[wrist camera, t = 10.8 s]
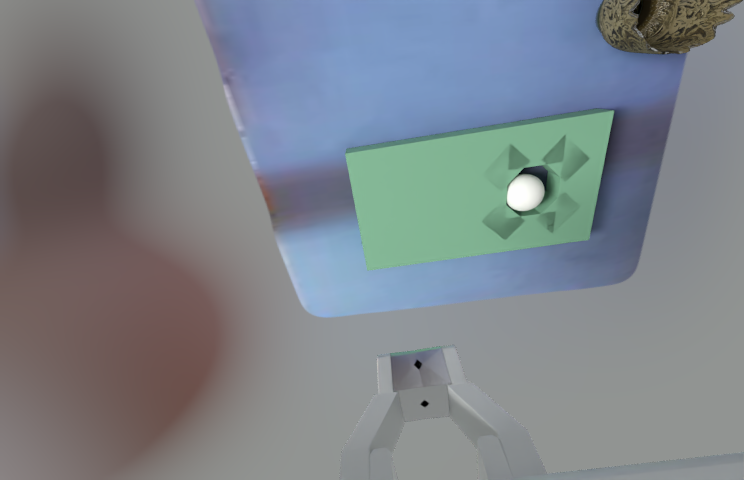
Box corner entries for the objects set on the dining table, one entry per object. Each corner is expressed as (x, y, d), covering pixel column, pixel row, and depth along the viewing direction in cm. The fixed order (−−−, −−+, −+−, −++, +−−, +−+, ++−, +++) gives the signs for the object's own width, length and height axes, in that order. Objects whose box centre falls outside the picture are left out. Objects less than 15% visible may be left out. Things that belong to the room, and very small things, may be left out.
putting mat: (346, 148, 33) (345, 153, 30) (596, 108, 31) (614, 110, 29) (367, 259, 39) (367, 270, 37) (575, 230, 38) (589, 239, 35)
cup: (671, -40, 26) (786, -86, 19) (637, 60, 29) (723, 54, 22) (584, -40, 26) (667, -87, 19) (560, 60, 29) (622, 53, 22)
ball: (496, 175, 34) (521, 184, 30) (527, 166, 34) (555, 174, 31) (495, 208, 36) (519, 220, 32) (525, 199, 36) (551, 210, 33)
